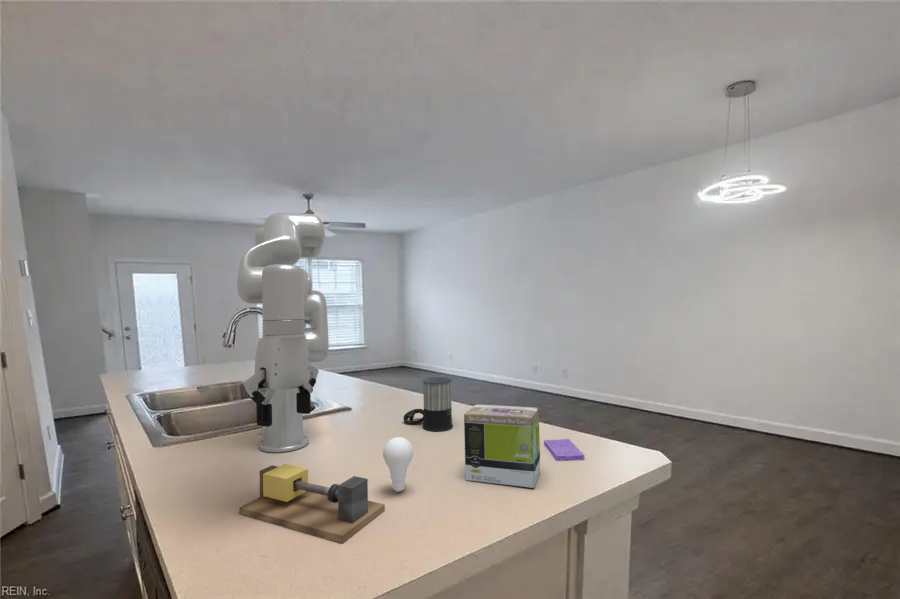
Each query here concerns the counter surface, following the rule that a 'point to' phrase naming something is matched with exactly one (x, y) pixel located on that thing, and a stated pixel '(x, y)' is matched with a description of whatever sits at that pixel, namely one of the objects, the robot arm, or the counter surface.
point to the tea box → (502, 445)
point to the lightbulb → (398, 460)
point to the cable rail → (319, 508)
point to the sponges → (563, 450)
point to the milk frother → (434, 405)
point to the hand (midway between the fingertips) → (285, 419)
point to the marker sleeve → (283, 482)
